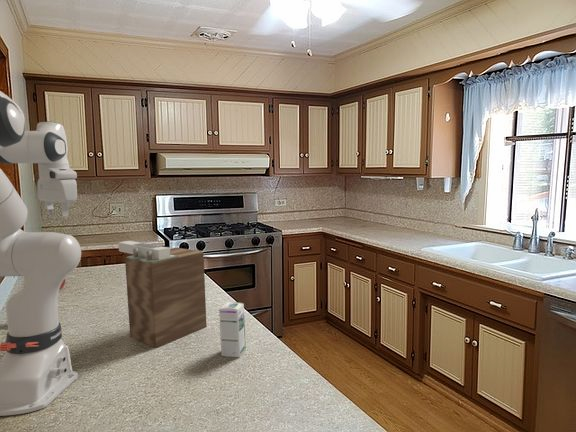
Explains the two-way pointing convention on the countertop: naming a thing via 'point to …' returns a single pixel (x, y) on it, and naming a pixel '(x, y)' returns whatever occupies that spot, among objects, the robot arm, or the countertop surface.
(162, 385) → the countertop surface
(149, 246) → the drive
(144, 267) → the wooden peg block
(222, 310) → the syrup box
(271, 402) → the countertop surface
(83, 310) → the countertop surface
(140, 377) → the countertop surface
